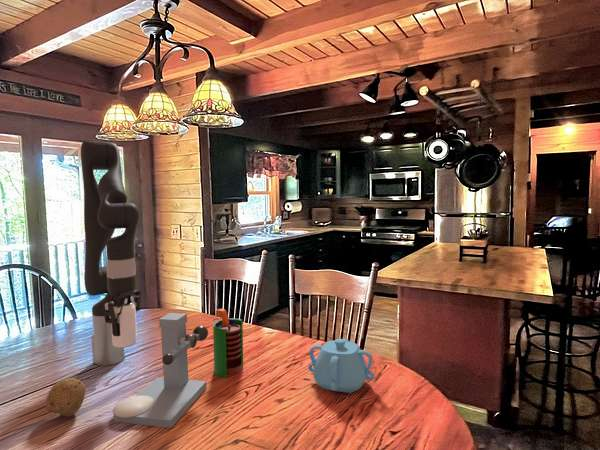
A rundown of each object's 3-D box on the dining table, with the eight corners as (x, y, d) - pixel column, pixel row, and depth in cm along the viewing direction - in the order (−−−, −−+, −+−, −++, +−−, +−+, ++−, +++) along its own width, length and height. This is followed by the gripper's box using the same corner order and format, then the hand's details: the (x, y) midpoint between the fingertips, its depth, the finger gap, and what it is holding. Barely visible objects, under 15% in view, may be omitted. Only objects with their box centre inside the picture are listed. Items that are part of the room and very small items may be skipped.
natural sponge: (46, 430, 96) (43, 392, 95) (47, 413, 103) (44, 377, 103) (88, 418, 101) (85, 381, 100) (85, 403, 108) (83, 368, 107)
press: (104, 422, 99) (98, 337, 97) (152, 382, 119) (148, 311, 117) (168, 430, 95) (164, 342, 93) (206, 387, 115) (203, 314, 113)
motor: (235, 378, 121) (233, 315, 119) (209, 376, 123) (206, 314, 121) (246, 364, 131) (244, 306, 129) (221, 362, 132) (219, 305, 131)
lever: (157, 369, 98) (156, 352, 97) (197, 337, 119) (196, 323, 118) (173, 370, 97) (172, 353, 96) (210, 338, 118) (210, 323, 117)
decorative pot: (353, 368, 126) (352, 327, 125) (378, 392, 111) (378, 345, 110) (306, 377, 121) (305, 334, 120) (326, 403, 106) (325, 354, 105)
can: (117, 339, 114) (115, 300, 113) (140, 338, 115) (138, 299, 114) (108, 348, 108) (106, 307, 107) (132, 348, 108) (130, 306, 107)
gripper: (126, 268, 117) (129, 322, 119) (91, 279, 103) (95, 340, 105) (148, 269, 116) (150, 323, 117) (116, 280, 102) (119, 342, 103)
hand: (124, 331), depth 111 cm, fingers closed on can, 5 cm apart
